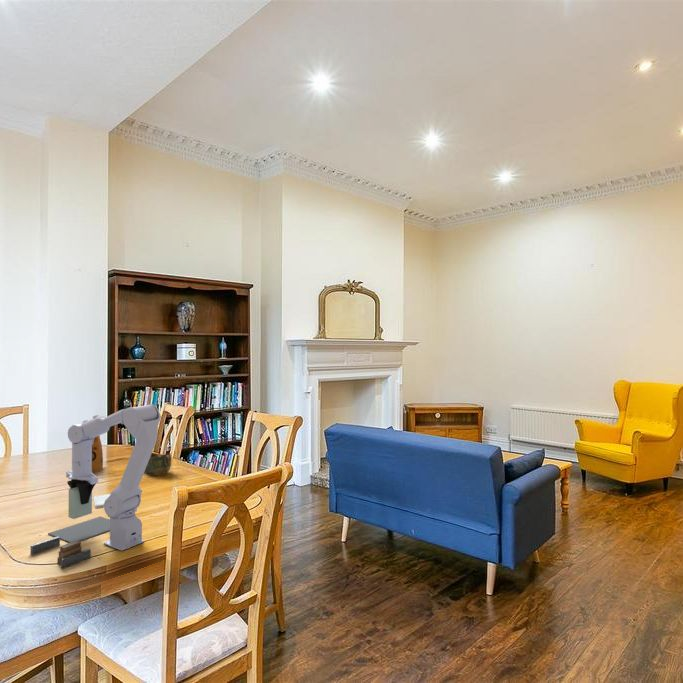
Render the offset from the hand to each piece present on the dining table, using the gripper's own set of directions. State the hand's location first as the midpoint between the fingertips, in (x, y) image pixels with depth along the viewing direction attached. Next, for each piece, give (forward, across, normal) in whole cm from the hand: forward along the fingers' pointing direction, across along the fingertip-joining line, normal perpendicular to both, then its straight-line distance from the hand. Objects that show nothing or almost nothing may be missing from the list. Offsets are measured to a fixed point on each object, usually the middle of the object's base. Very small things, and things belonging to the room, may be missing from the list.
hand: (81, 502), depth 160 cm
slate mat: (+10, -2, +3) cm, 11 cm away
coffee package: (+11, -72, +48) cm, 87 cm away
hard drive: (+11, -23, +24) cm, 35 cm away
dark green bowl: (+11, -40, +61) cm, 74 cm away
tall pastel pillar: (+4, 0, 0) cm, 4 cm away
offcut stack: (+10, +15, -12) cm, 22 cm away
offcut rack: (+10, +10, -12) cm, 19 cm away
